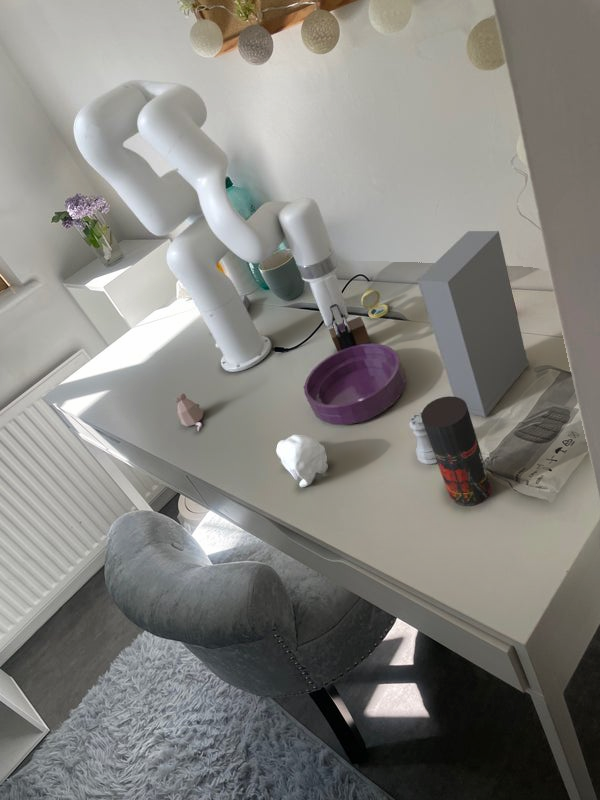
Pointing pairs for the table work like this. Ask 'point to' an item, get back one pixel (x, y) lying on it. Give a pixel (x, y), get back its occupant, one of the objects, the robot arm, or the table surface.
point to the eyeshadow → (373, 304)
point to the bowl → (355, 384)
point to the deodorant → (456, 450)
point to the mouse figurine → (189, 411)
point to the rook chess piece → (422, 440)
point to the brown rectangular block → (357, 330)
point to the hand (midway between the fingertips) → (345, 337)
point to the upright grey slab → (475, 320)
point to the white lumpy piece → (302, 457)
